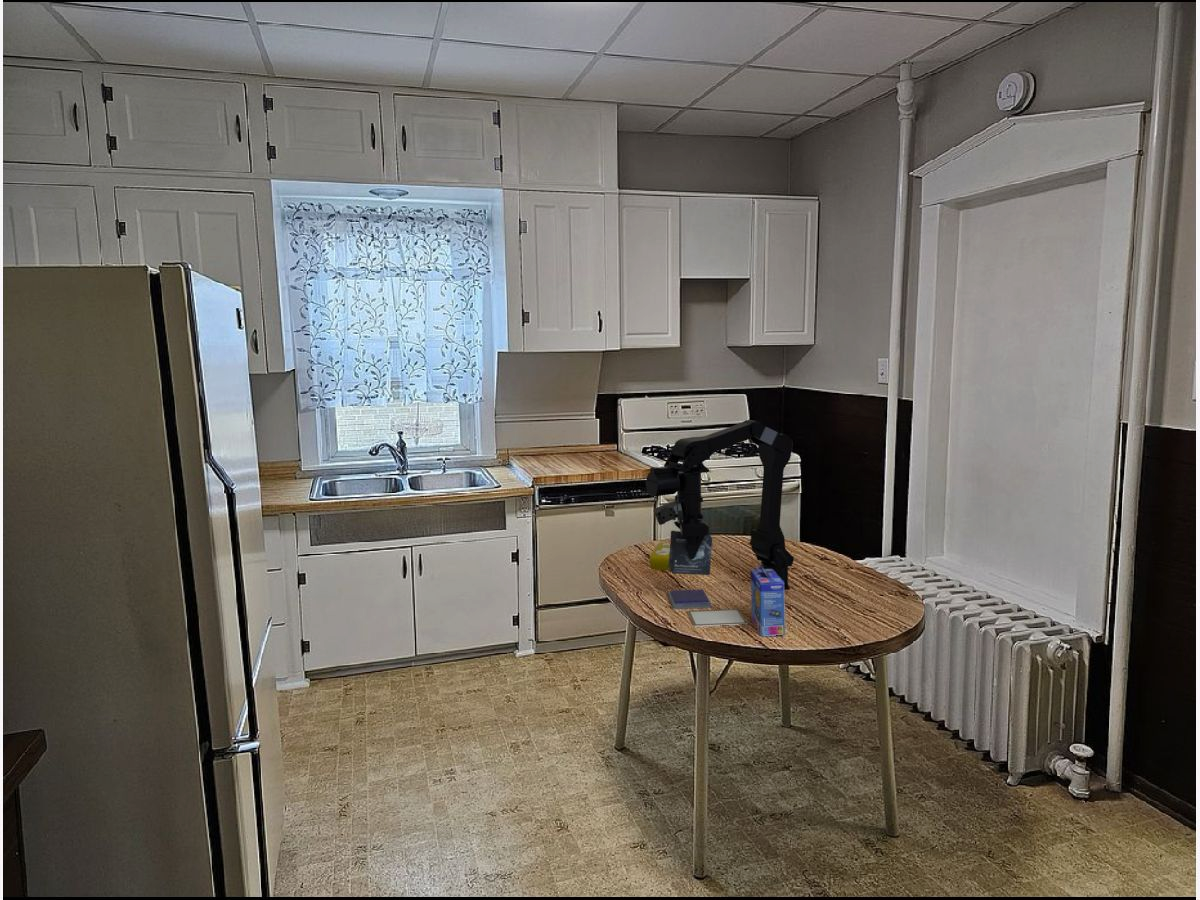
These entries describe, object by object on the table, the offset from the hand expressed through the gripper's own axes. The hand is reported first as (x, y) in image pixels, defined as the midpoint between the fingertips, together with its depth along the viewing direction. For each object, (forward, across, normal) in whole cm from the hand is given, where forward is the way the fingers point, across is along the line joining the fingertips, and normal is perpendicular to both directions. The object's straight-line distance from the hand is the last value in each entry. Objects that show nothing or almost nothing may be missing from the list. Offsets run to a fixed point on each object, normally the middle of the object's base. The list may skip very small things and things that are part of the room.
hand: (689, 555), depth 182 cm
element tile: (+13, -32, +2) cm, 35 cm away
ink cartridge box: (+12, +18, +14) cm, 26 cm away
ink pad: (+12, 0, 0) cm, 12 cm away
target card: (+12, +11, +4) cm, 17 cm away
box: (+4, 0, 0) cm, 4 cm away
